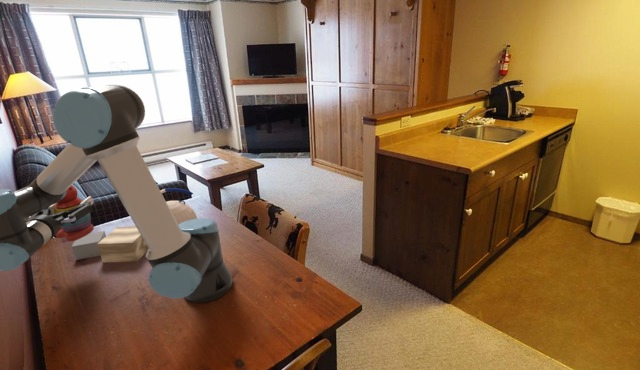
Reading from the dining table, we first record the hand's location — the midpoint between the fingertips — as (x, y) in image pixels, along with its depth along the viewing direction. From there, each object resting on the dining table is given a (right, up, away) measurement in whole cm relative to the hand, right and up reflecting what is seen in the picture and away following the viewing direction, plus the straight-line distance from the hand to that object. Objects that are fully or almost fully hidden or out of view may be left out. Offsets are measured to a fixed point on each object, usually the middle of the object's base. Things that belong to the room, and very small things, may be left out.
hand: (76, 201), depth 119 cm
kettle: (+21, -13, +32) cm, 40 cm away
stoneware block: (-4, -20, +14) cm, 25 cm away
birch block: (+12, -20, +13) cm, 27 cm away
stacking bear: (+1, -11, -1) cm, 11 cm away
